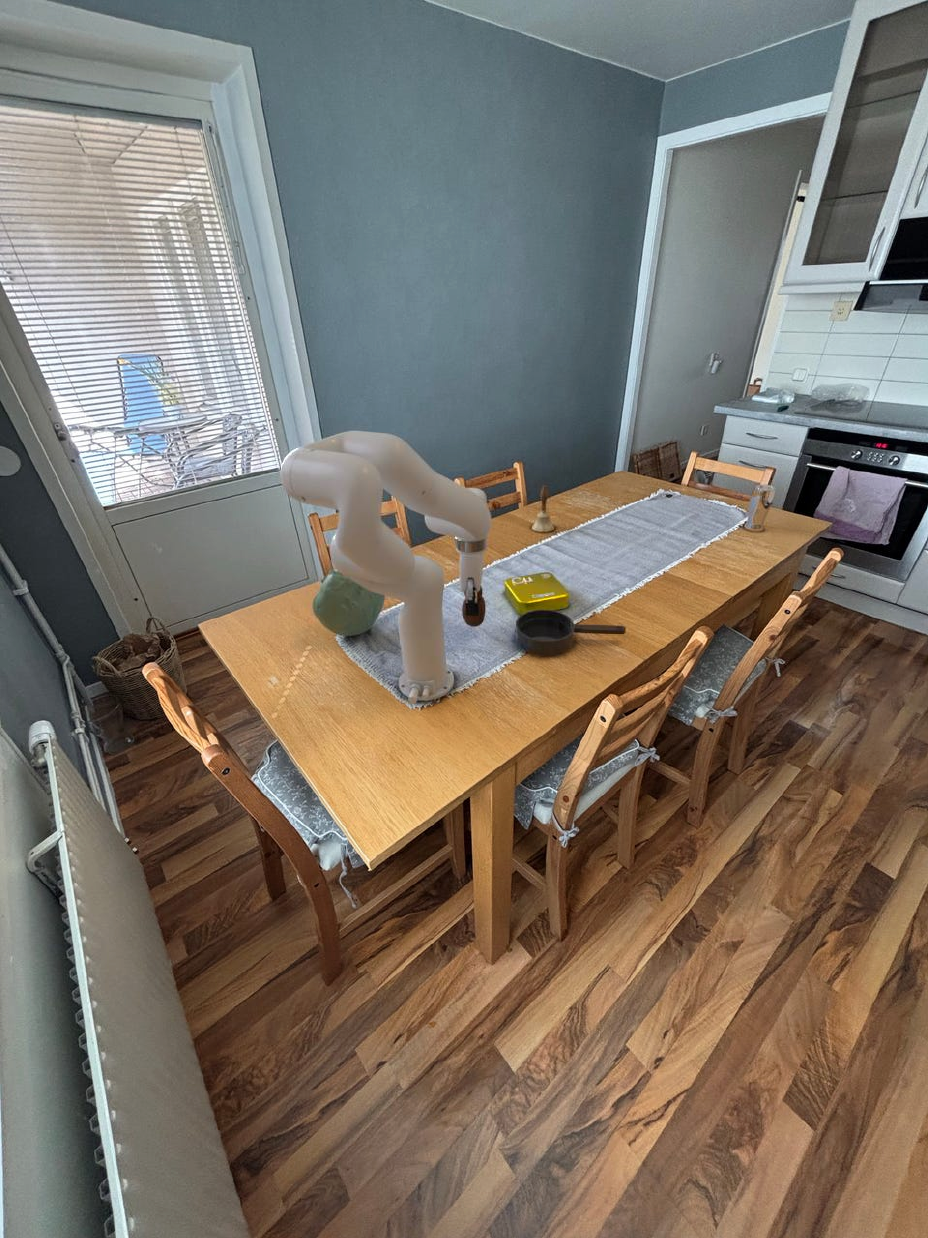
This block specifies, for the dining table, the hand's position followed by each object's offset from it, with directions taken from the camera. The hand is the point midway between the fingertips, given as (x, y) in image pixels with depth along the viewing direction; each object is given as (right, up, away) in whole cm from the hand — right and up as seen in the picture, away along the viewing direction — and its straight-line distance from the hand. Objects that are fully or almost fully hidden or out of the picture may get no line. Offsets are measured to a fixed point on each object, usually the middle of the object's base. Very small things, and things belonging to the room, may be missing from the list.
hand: (473, 606), depth 128 cm
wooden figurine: (0, -4, +3) cm, 5 cm away
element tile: (+18, +2, +17) cm, 25 cm away
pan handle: (+31, -6, -3) cm, 32 cm away
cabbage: (-32, -7, +7) cm, 33 cm away
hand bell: (+27, +31, +61) cm, 74 cm away
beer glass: (+102, +29, +53) cm, 119 cm away
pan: (+18, -8, 0) cm, 20 cm away
